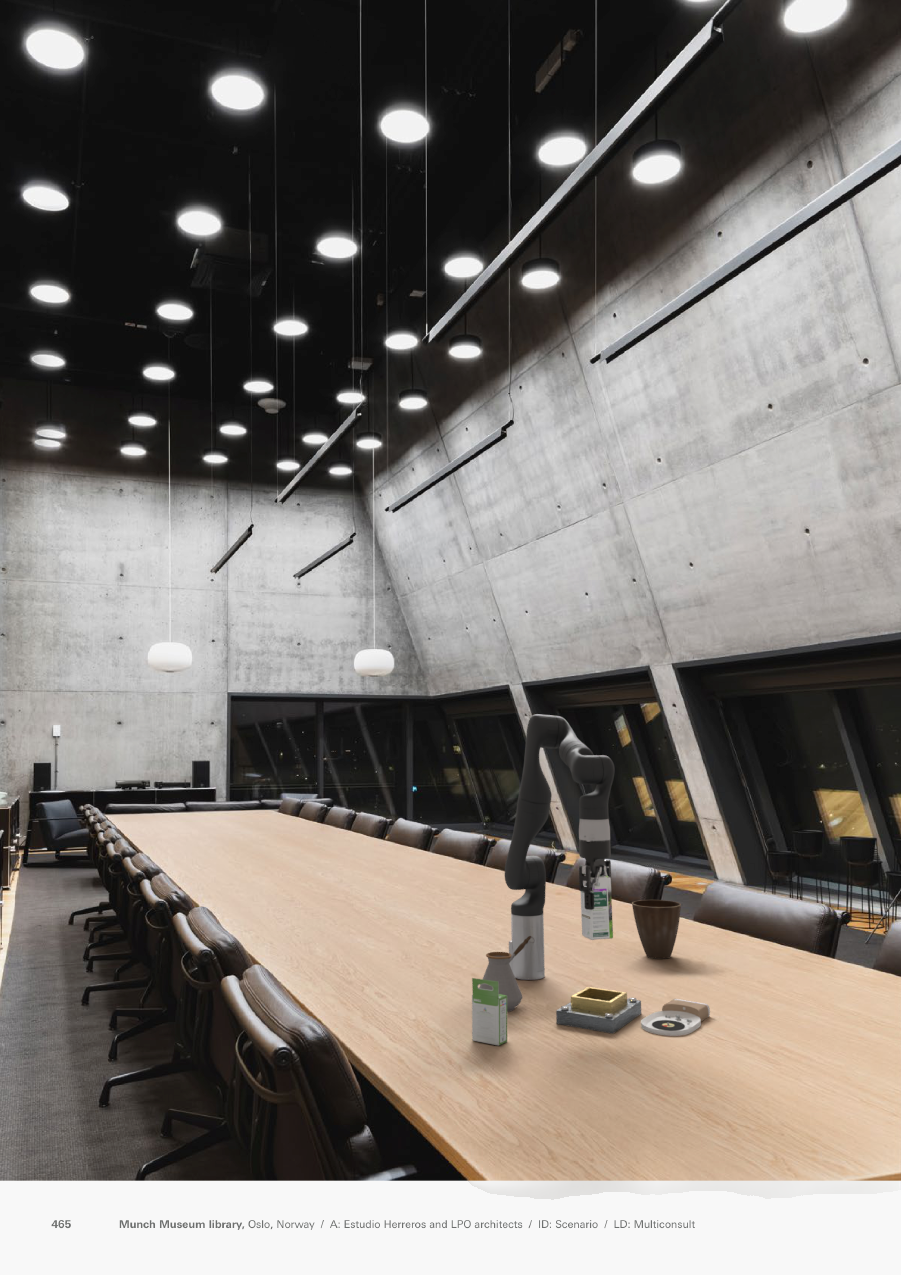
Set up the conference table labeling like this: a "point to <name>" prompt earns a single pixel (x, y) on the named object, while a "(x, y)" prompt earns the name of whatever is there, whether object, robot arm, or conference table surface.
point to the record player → (676, 1018)
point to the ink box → (488, 1013)
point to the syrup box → (598, 912)
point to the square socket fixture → (599, 1010)
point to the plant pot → (657, 926)
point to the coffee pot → (504, 975)
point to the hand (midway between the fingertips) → (596, 906)
